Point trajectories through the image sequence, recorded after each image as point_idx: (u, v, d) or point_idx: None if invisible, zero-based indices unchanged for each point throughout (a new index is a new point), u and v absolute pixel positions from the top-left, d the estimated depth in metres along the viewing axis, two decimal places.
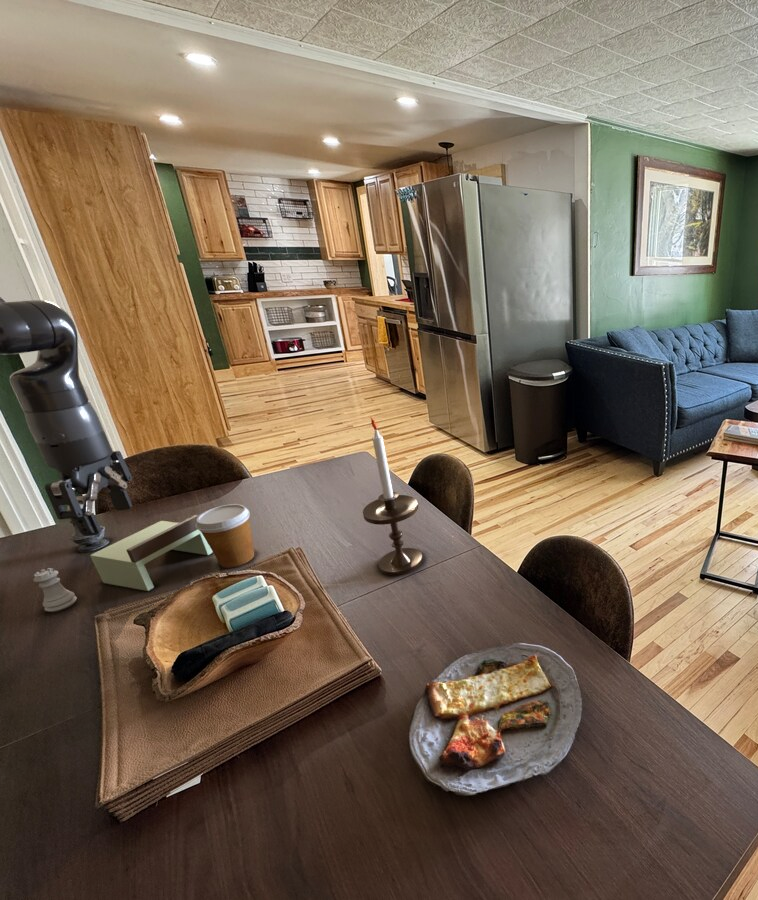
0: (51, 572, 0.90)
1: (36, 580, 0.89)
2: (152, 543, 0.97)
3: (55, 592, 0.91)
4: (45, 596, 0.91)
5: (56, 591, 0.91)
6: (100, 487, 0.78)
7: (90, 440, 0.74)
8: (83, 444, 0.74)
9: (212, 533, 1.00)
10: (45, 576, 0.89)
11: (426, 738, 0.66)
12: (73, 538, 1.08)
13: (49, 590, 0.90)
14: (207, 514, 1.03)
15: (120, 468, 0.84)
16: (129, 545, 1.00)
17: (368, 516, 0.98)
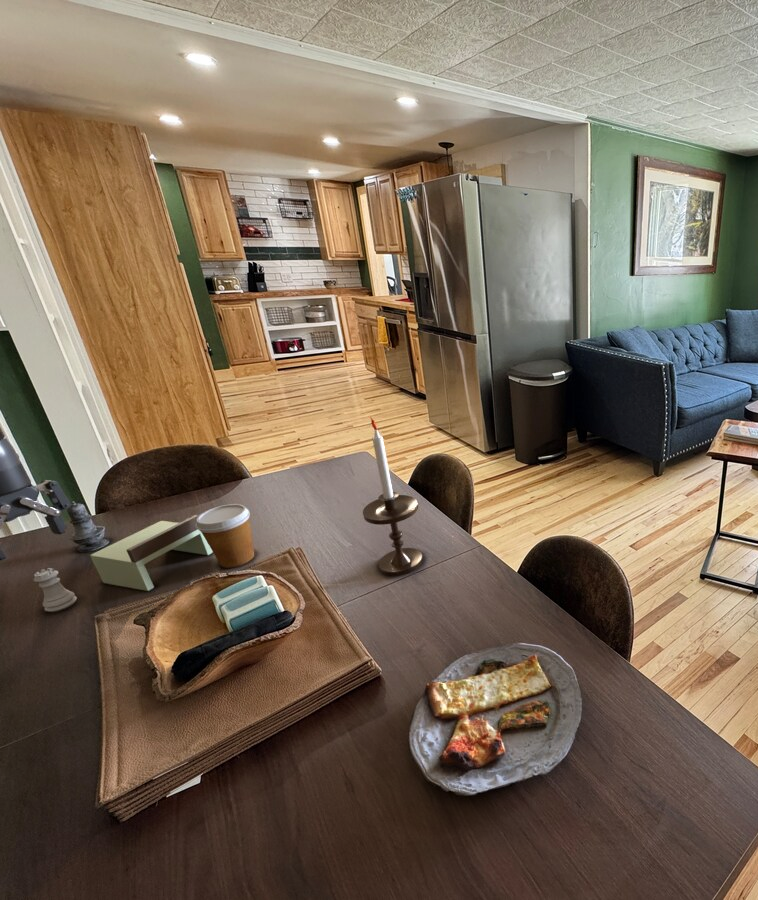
0: (51, 572, 0.90)
1: (36, 580, 0.89)
2: (152, 543, 0.97)
3: (55, 592, 0.91)
4: (45, 596, 0.91)
5: (56, 591, 0.91)
6: (15, 516, 0.85)
7: None
8: None
9: (212, 533, 1.00)
10: (45, 576, 0.89)
11: (426, 738, 0.66)
12: (73, 538, 1.08)
13: (49, 590, 0.90)
14: (208, 514, 1.03)
15: (55, 497, 0.90)
16: (129, 545, 1.00)
17: (368, 516, 0.98)
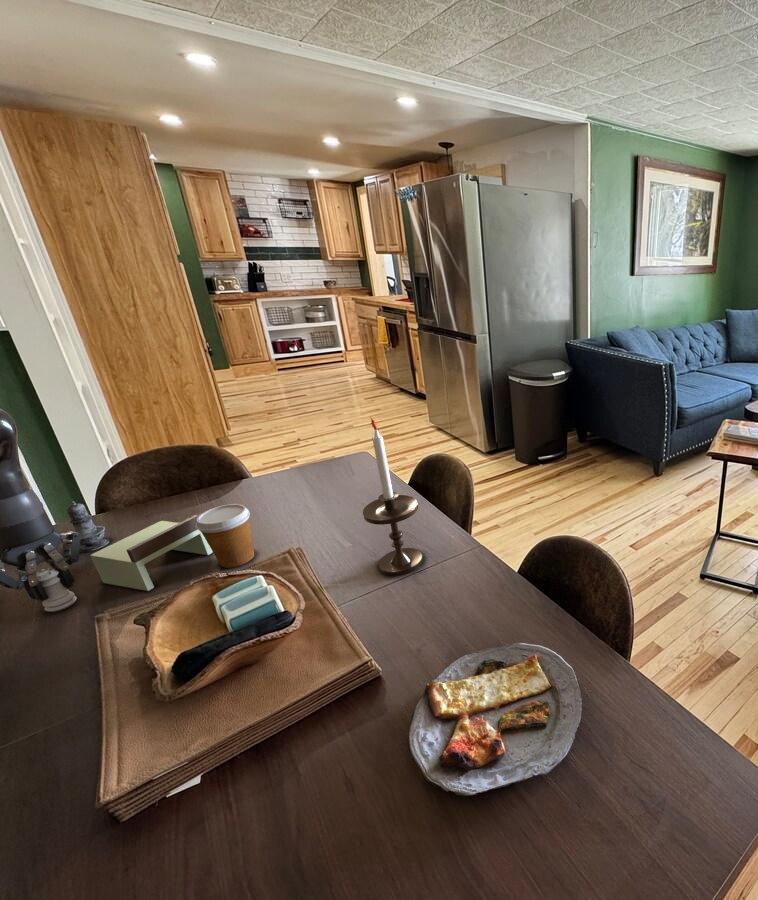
0: (51, 572, 0.90)
1: None
2: (152, 543, 0.97)
3: (55, 592, 0.91)
4: None
5: (56, 591, 0.91)
6: (39, 562, 0.88)
7: (16, 527, 0.83)
8: (9, 531, 0.83)
9: (212, 533, 1.00)
10: (45, 576, 0.89)
11: (426, 738, 0.66)
12: None
13: (49, 590, 0.90)
14: (208, 514, 1.03)
15: (70, 548, 0.93)
16: (129, 545, 1.00)
17: (368, 516, 0.98)
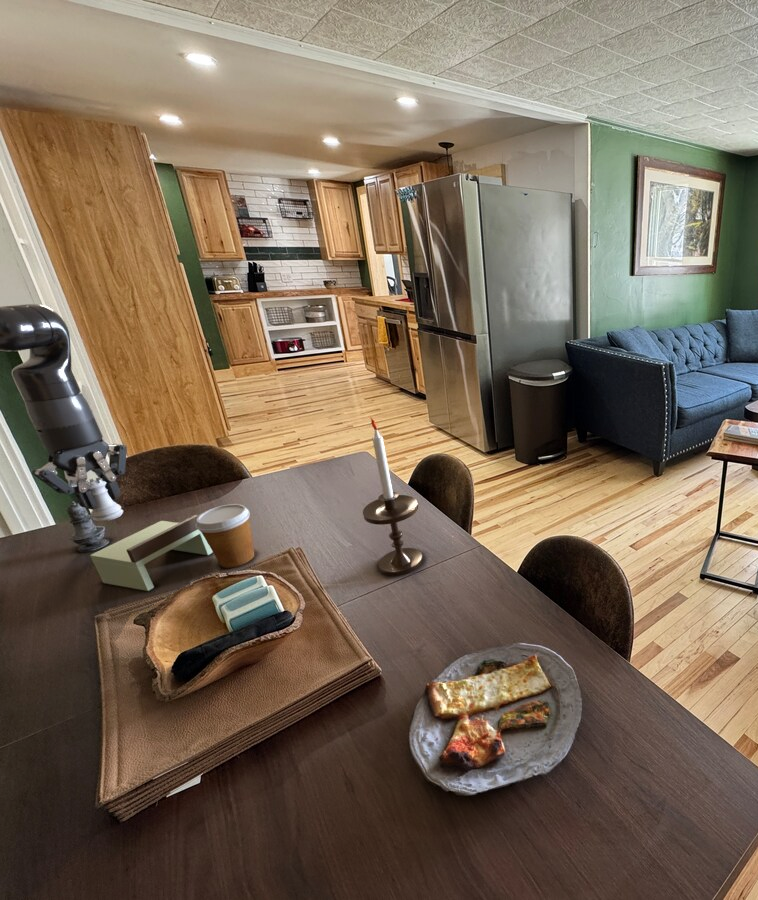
0: (100, 481, 0.91)
1: None
2: (152, 543, 0.97)
3: (103, 502, 0.91)
4: None
5: (104, 501, 0.91)
6: (88, 469, 0.89)
7: (68, 429, 0.84)
8: (61, 432, 0.83)
9: (212, 533, 1.00)
10: (94, 484, 0.90)
11: (426, 738, 0.66)
12: (73, 538, 1.08)
13: (98, 499, 0.91)
14: (208, 514, 1.03)
15: (117, 460, 0.93)
16: (129, 545, 1.00)
17: (368, 516, 0.98)
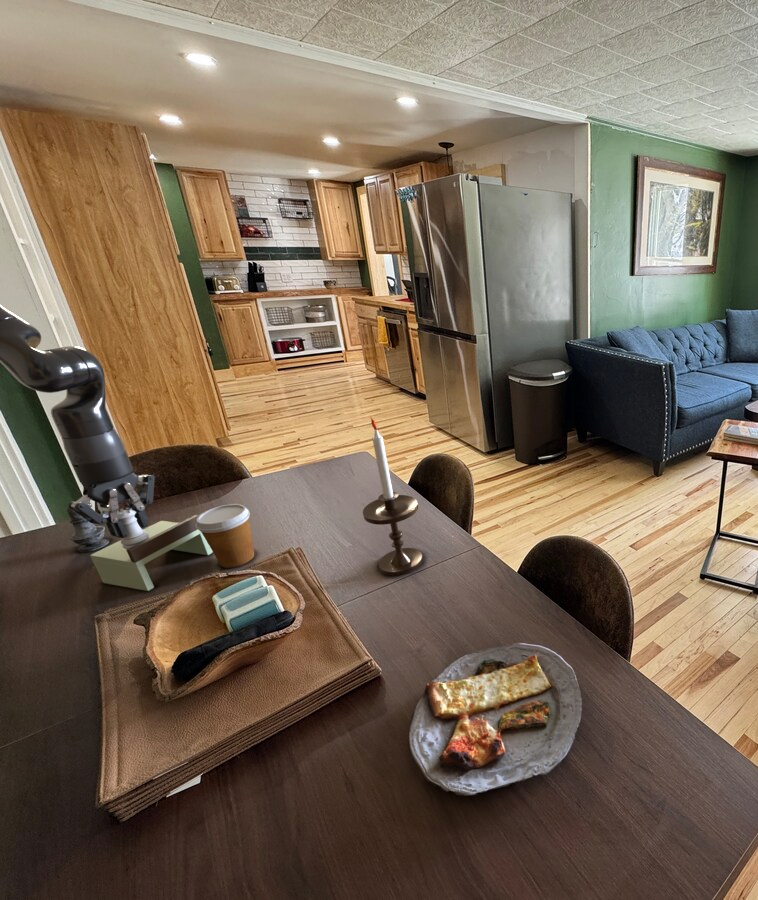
0: (130, 511, 0.95)
1: None
2: (152, 543, 0.97)
3: (133, 530, 0.96)
4: None
5: (134, 530, 0.96)
6: (119, 500, 0.93)
7: (102, 464, 0.88)
8: (96, 467, 0.87)
9: (212, 533, 1.00)
10: (124, 514, 0.94)
11: (426, 738, 0.66)
12: (73, 538, 1.08)
13: (128, 528, 0.95)
14: (208, 514, 1.03)
15: (146, 490, 0.97)
16: None
17: (368, 516, 0.98)
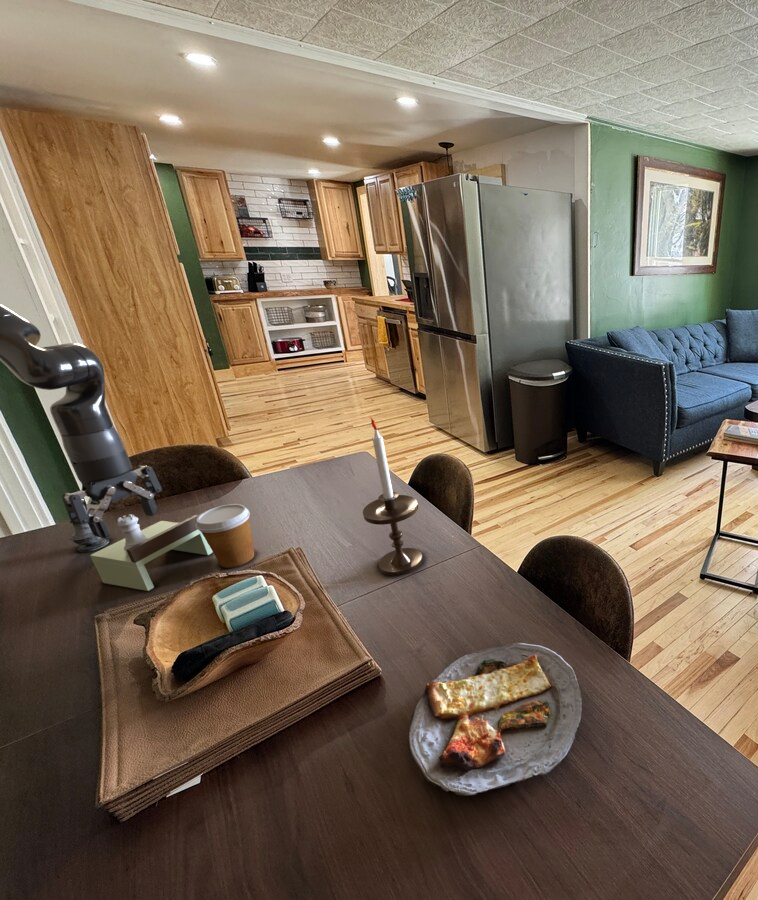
0: (133, 518, 0.95)
1: (120, 524, 0.94)
2: (152, 543, 0.97)
3: (136, 537, 0.96)
4: (126, 541, 0.96)
5: (137, 536, 0.96)
6: (118, 498, 0.93)
7: (101, 461, 0.88)
8: (95, 464, 0.87)
9: (212, 533, 1.00)
10: (127, 521, 0.95)
11: (426, 738, 0.66)
12: (73, 538, 1.08)
13: (130, 535, 0.96)
14: (208, 514, 1.03)
15: (150, 481, 0.98)
16: None
17: (368, 516, 0.98)
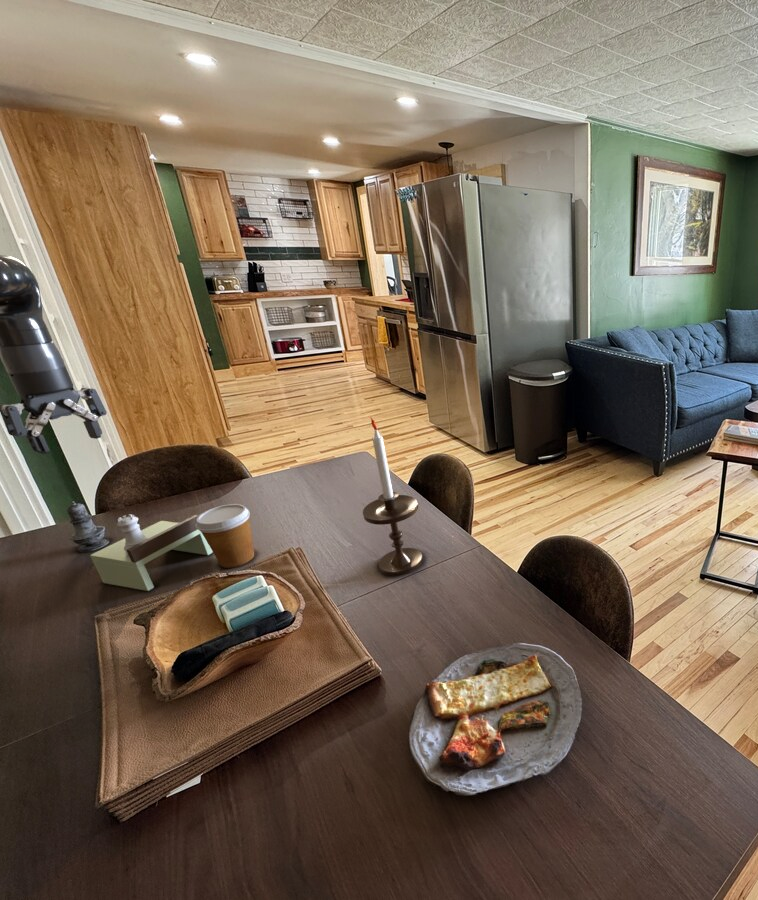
0: (133, 518, 0.95)
1: (119, 524, 0.94)
2: (152, 543, 0.97)
3: (136, 537, 0.96)
4: (126, 541, 0.96)
5: (137, 536, 0.96)
6: (59, 415, 0.94)
7: (39, 374, 0.89)
8: (32, 377, 0.88)
9: (212, 533, 1.00)
10: (127, 521, 0.95)
11: (426, 738, 0.66)
12: (73, 538, 1.08)
13: (130, 535, 0.96)
14: (208, 514, 1.03)
15: (94, 403, 0.99)
16: None
17: (368, 516, 0.98)
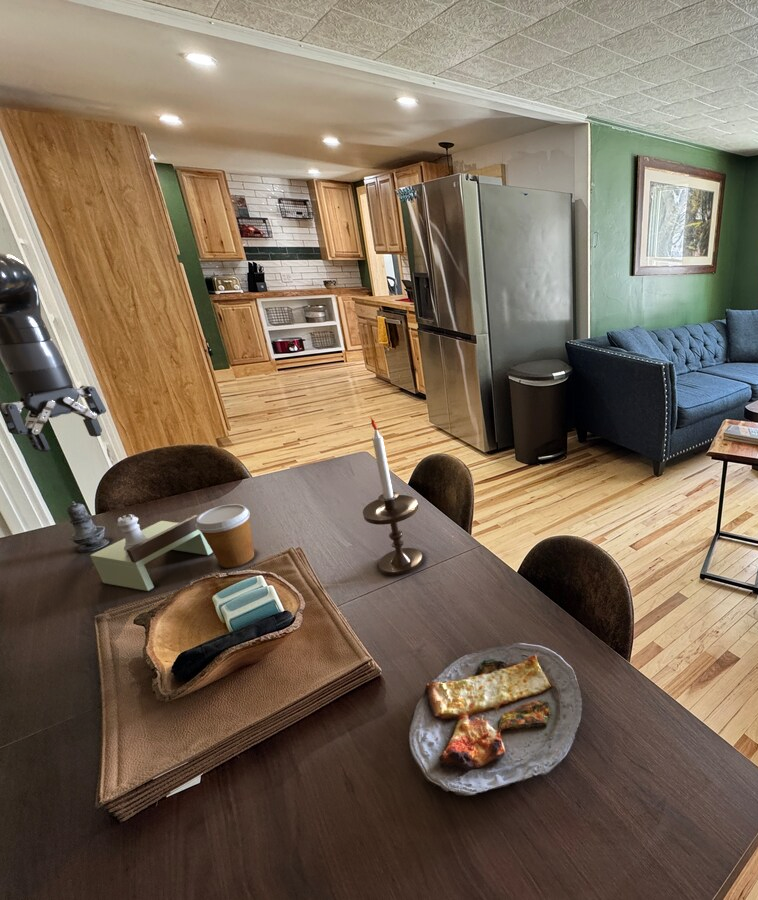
0: (133, 518, 0.95)
1: (119, 524, 0.94)
2: (152, 543, 0.97)
3: (136, 537, 0.96)
4: (126, 541, 0.96)
5: (137, 536, 0.96)
6: (59, 413, 0.94)
7: (38, 372, 0.89)
8: (31, 375, 0.88)
9: (212, 533, 1.00)
10: (127, 521, 0.95)
11: (426, 738, 0.66)
12: (73, 538, 1.08)
13: (130, 535, 0.96)
14: (208, 514, 1.03)
15: (93, 401, 0.99)
16: None
17: (368, 516, 0.98)
